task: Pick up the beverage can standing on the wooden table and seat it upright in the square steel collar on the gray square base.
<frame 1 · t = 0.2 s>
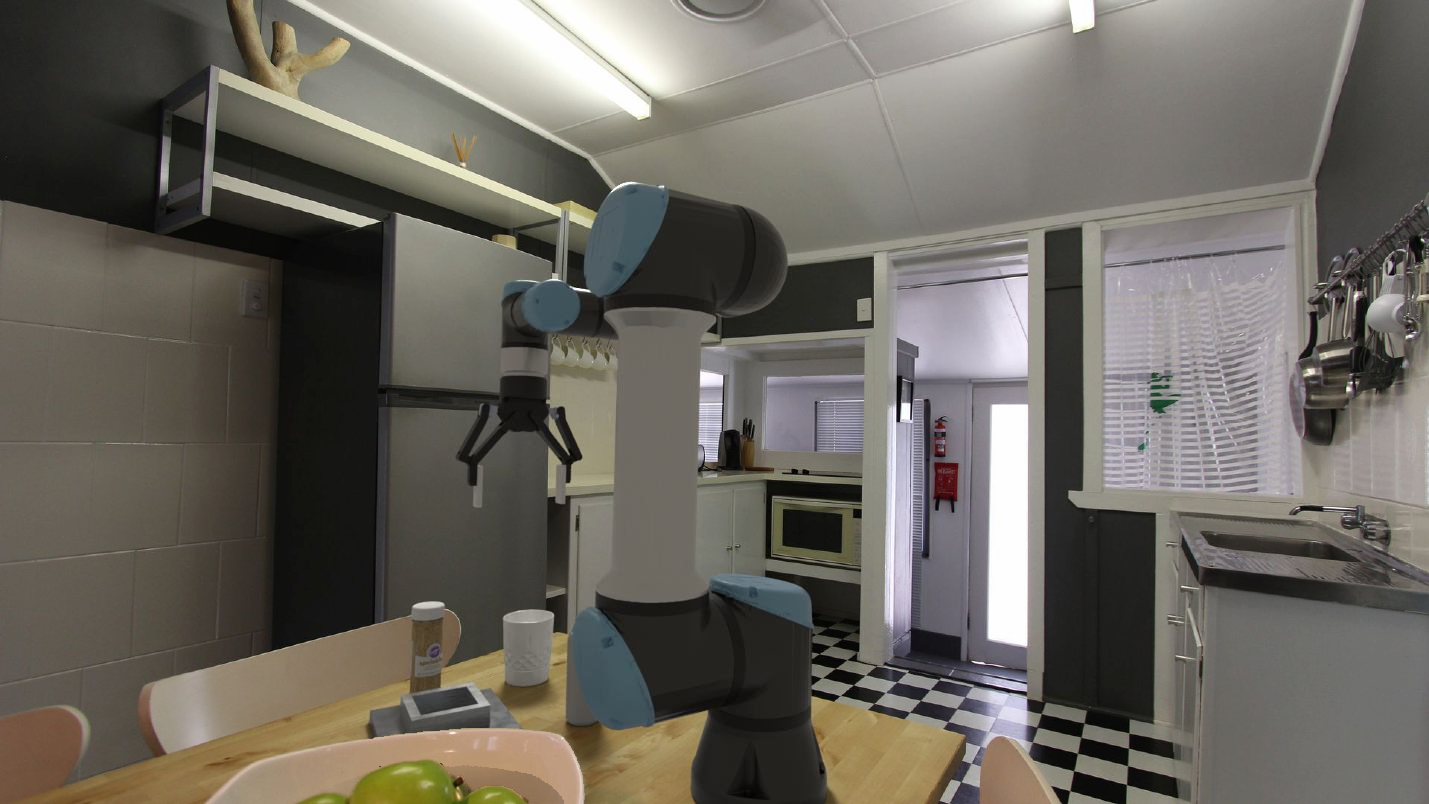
hand: (520, 505, 110), 27 cm above the table, fingers open, 13 cm apart
beverage can: (583, 721, 92), on the table
gray square base: (443, 731, 88), on the table
white cup: (527, 680, 107), on the table
sprinkles bottle: (425, 696, 100), on the table
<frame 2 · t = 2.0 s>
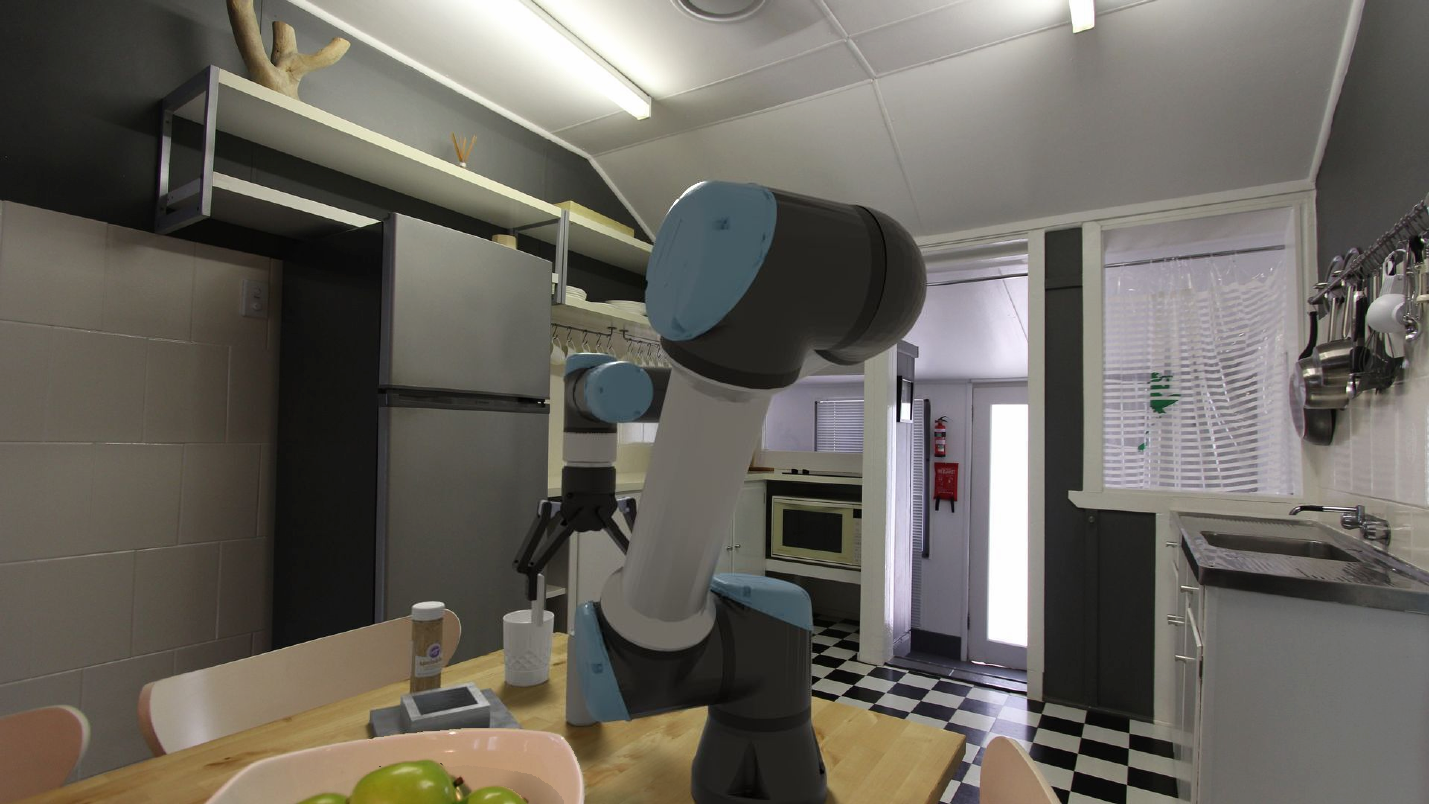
hand: (585, 617, 93), 14 cm above the table, fingers open, 13 cm apart
nothing on the table moved.
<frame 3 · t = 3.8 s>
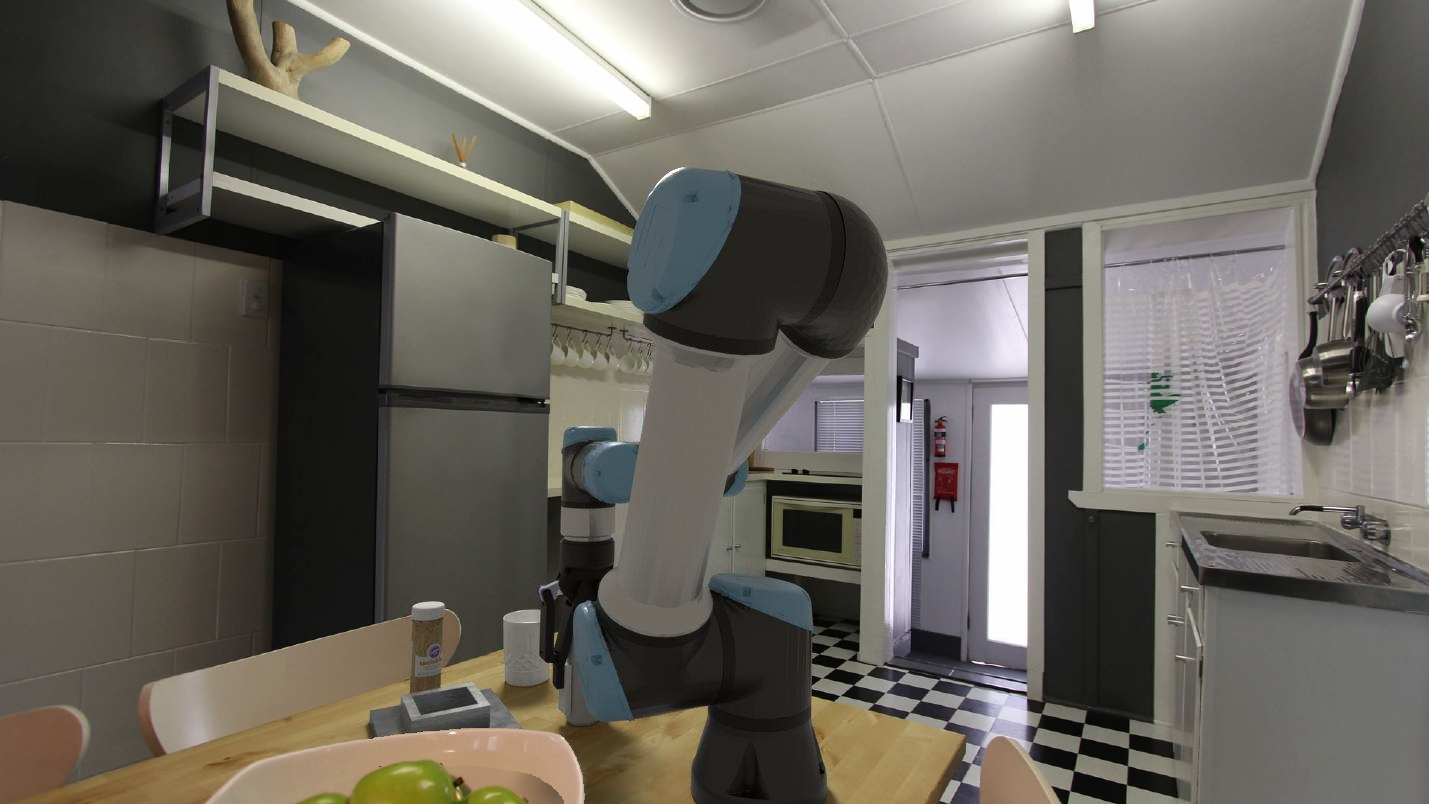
hand: (583, 706, 92), 2 cm above the table, fingers closed on beverage can, 5 cm apart
beverage can: (583, 721, 92), on the table, touching gripper
everything else where it was.
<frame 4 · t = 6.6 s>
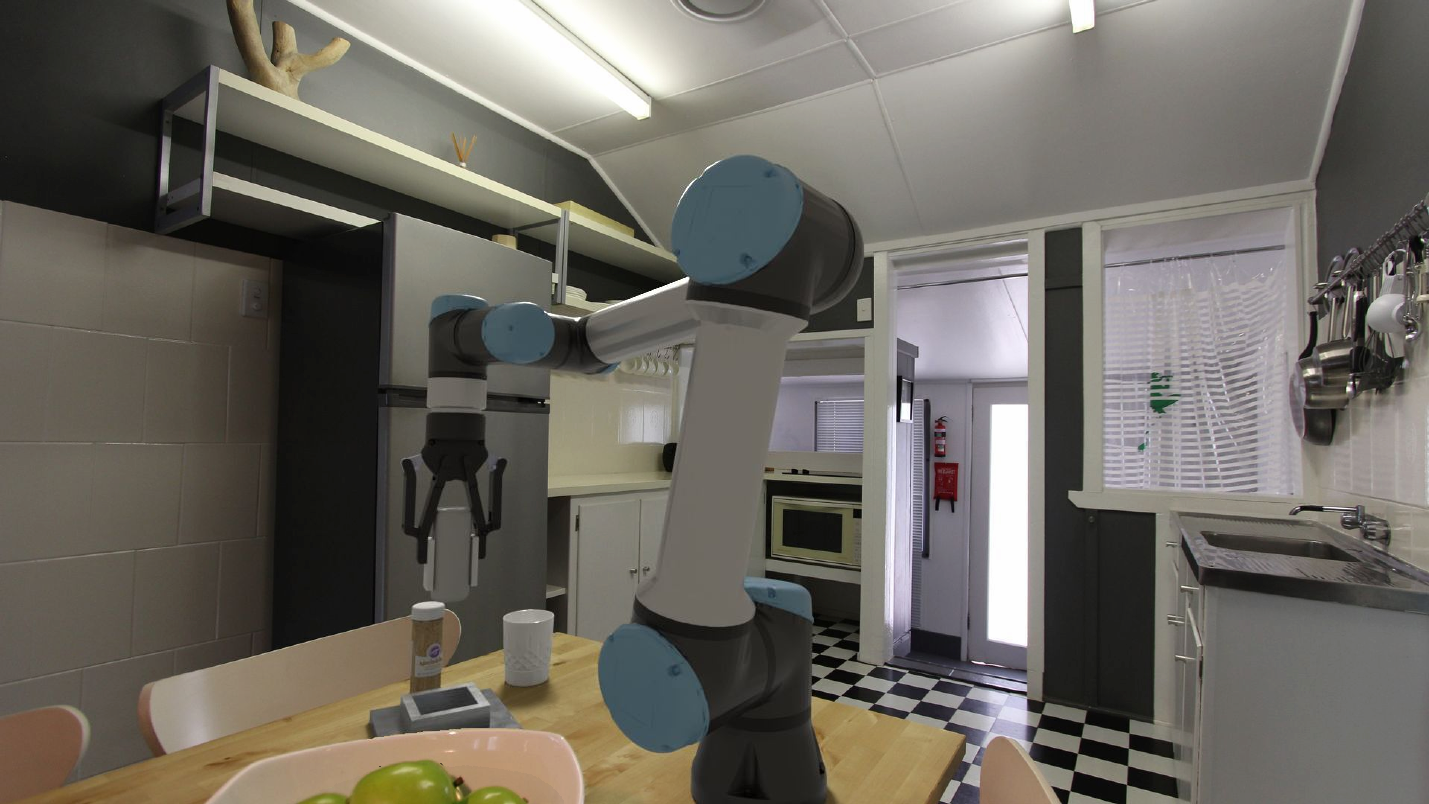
hand: (450, 585, 89), 19 cm above the table, fingers closed on beverage can, 5 cm apart
beverage can: (449, 600, 89), point 17 cm above the table, touching gripper
everything else where it was.
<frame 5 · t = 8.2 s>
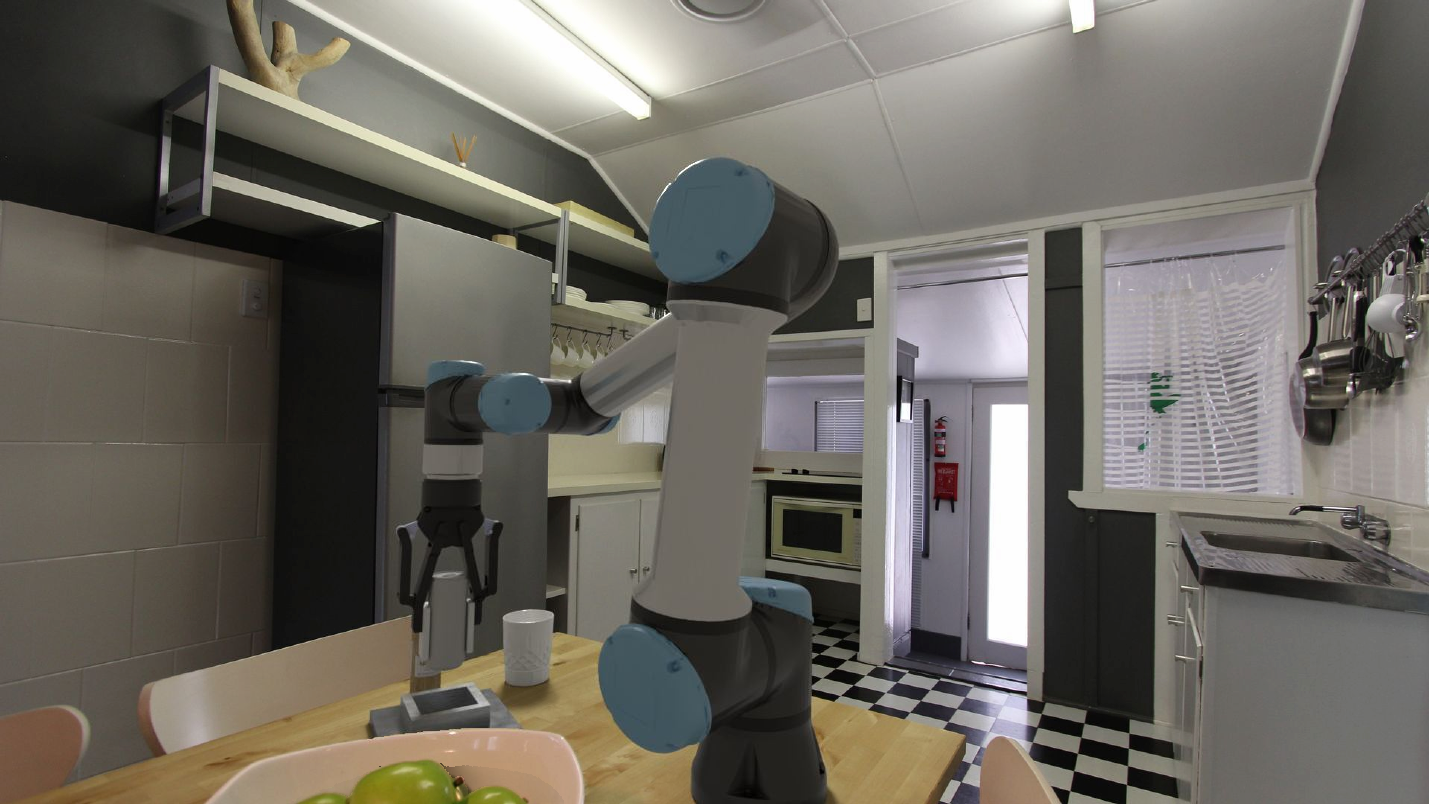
hand: (445, 652, 89), 10 cm above the table, fingers closed on beverage can, 5 cm apart
beverage can: (445, 667, 89), point 8 cm above the table, touching gripper
everything else where it was.
when the fingers open (5 cm above the table, at t = 9.5 s): beverage can drops 1 cm, resting on gray square base.
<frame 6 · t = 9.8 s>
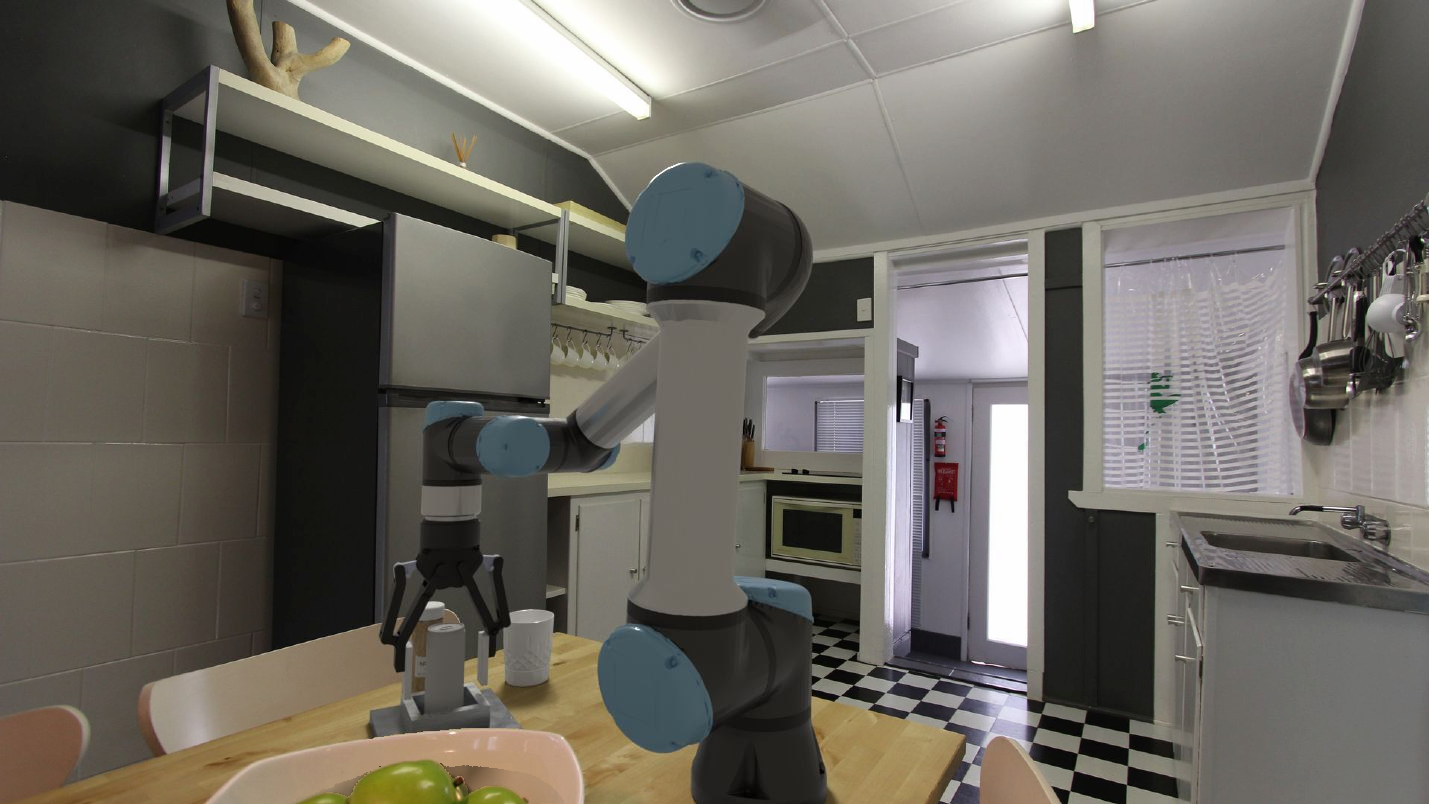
hand: (445, 689, 88), 5 cm above the table, fingers open, 9 cm apart
beverage can: (443, 720, 88), point 1 cm above the table, touching gray square base
everything else where it was.
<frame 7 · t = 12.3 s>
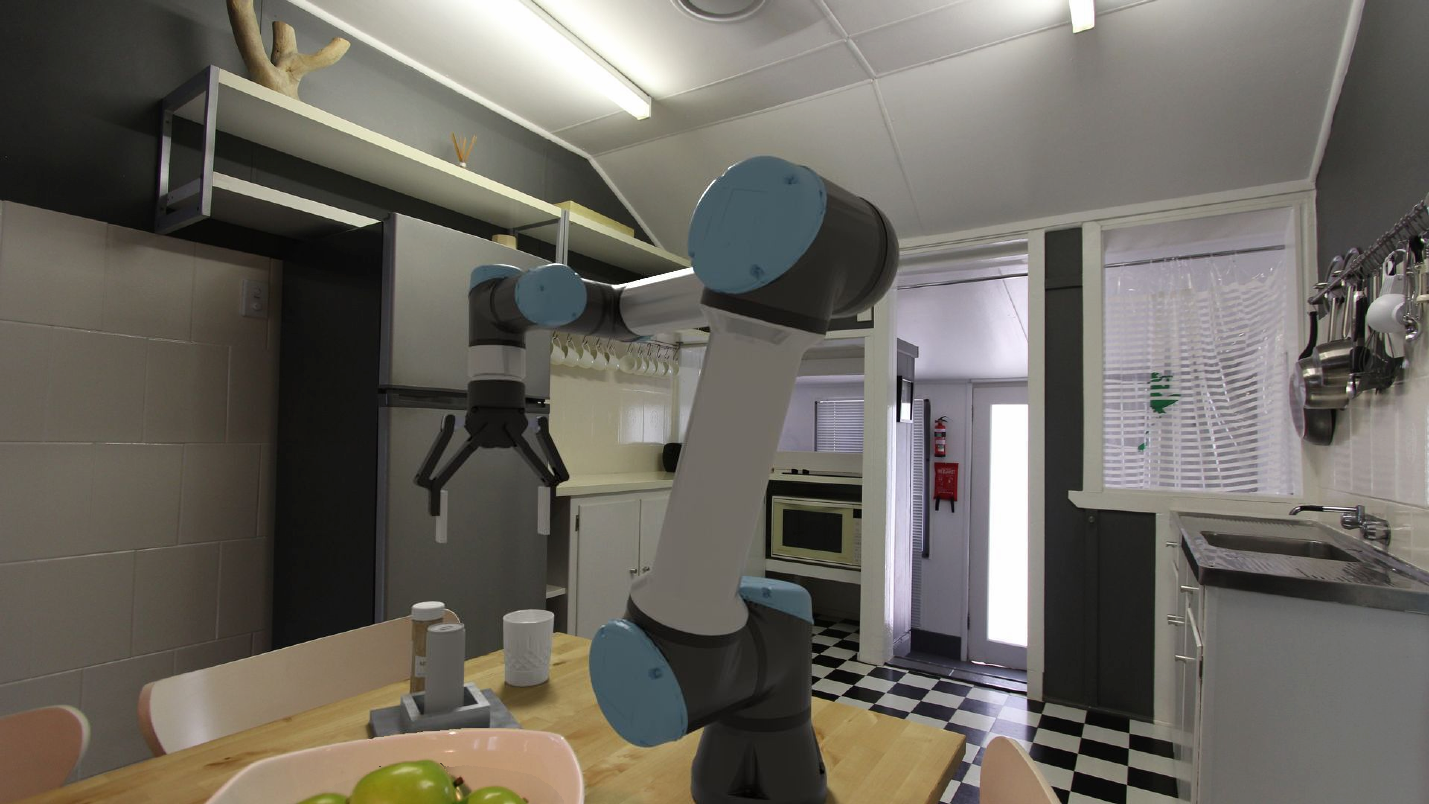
hand: (494, 537, 90), 25 cm above the table, fingers open, 13 cm apart
nothing on the table moved.
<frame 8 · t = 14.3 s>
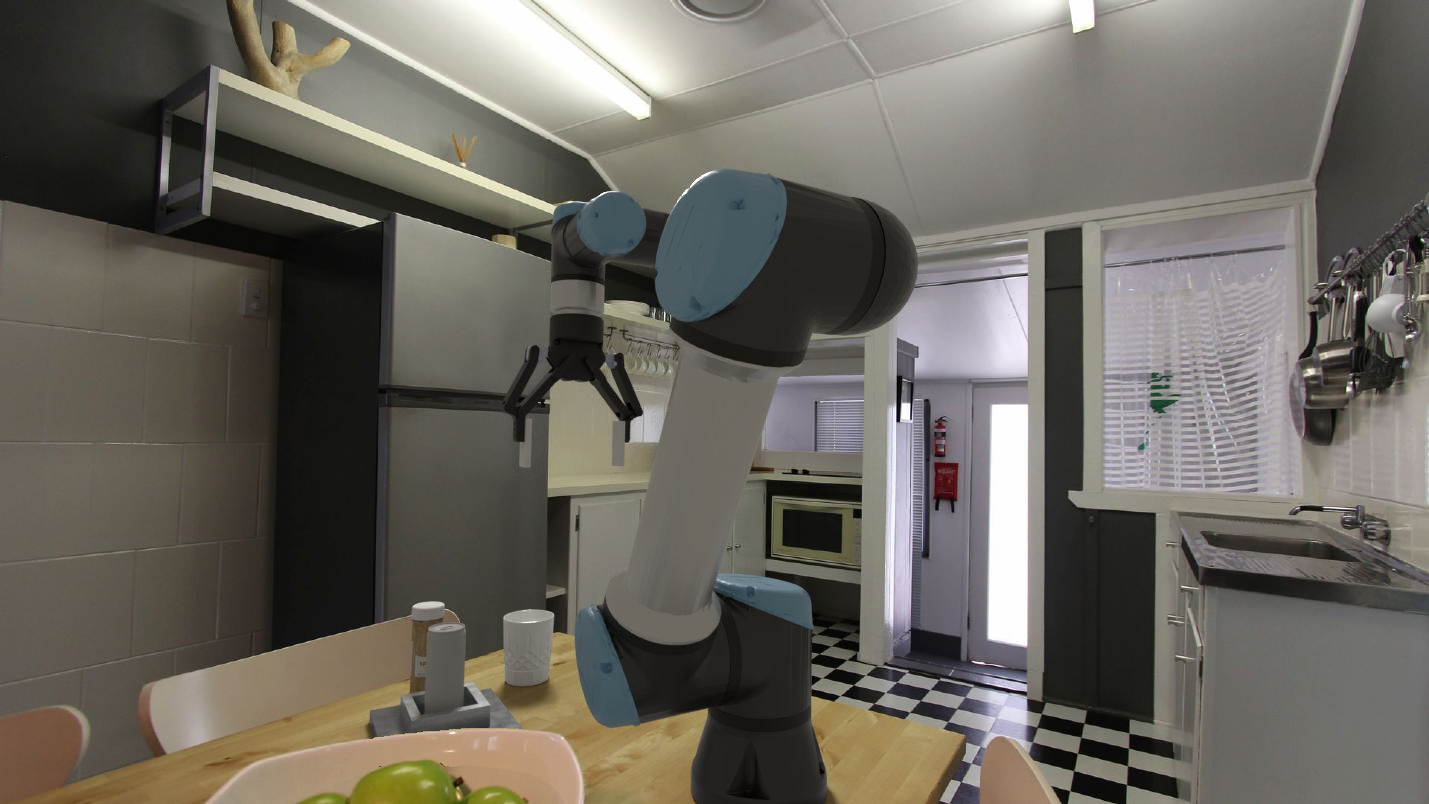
hand: (573, 466, 94), 35 cm above the table, fingers open, 13 cm apart
nothing on the table moved.
at the end: beverage can 0.0 cm off-centre on the gray square base, point 1.3 cm above the gray square base's base; beverage can tilted 0°; the gripper is holding nothing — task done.
